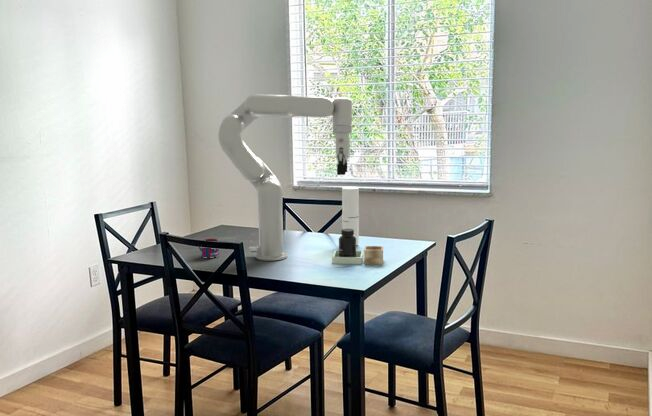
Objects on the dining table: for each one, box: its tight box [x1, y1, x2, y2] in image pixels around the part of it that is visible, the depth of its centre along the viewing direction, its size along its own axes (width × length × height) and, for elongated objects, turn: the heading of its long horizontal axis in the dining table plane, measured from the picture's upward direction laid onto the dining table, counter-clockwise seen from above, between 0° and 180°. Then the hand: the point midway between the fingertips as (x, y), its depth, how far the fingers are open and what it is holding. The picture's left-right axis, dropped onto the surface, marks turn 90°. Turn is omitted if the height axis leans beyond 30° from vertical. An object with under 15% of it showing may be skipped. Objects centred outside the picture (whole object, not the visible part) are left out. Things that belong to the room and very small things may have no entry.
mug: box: [198, 238, 220, 258], centre depth 247 cm, size 7×10×7 cm
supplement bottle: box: [338, 229, 357, 257], centre depth 237 cm, size 7×7×12 cm
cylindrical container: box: [341, 186, 360, 246], centre depth 264 cm, size 7×7×25 cm
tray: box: [332, 249, 364, 265], centre depth 237 cm, size 11×11×3 cm
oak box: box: [363, 245, 384, 265], centre depth 234 cm, size 7×7×6 cm
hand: (342, 173), depth 242 cm, fingers open, 9 cm apart
